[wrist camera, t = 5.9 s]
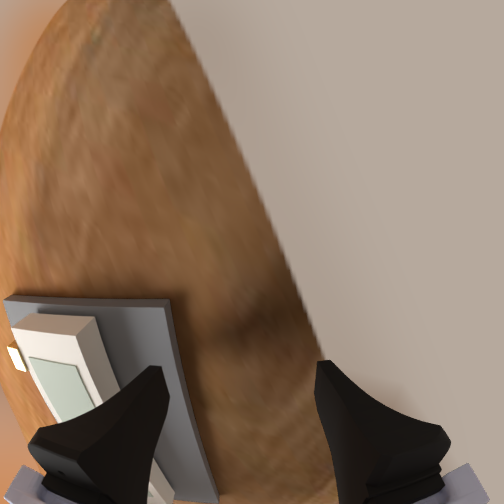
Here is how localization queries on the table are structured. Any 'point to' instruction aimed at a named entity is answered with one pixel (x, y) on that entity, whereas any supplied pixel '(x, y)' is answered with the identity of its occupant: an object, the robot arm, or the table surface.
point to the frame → (74, 373)
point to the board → (130, 366)
